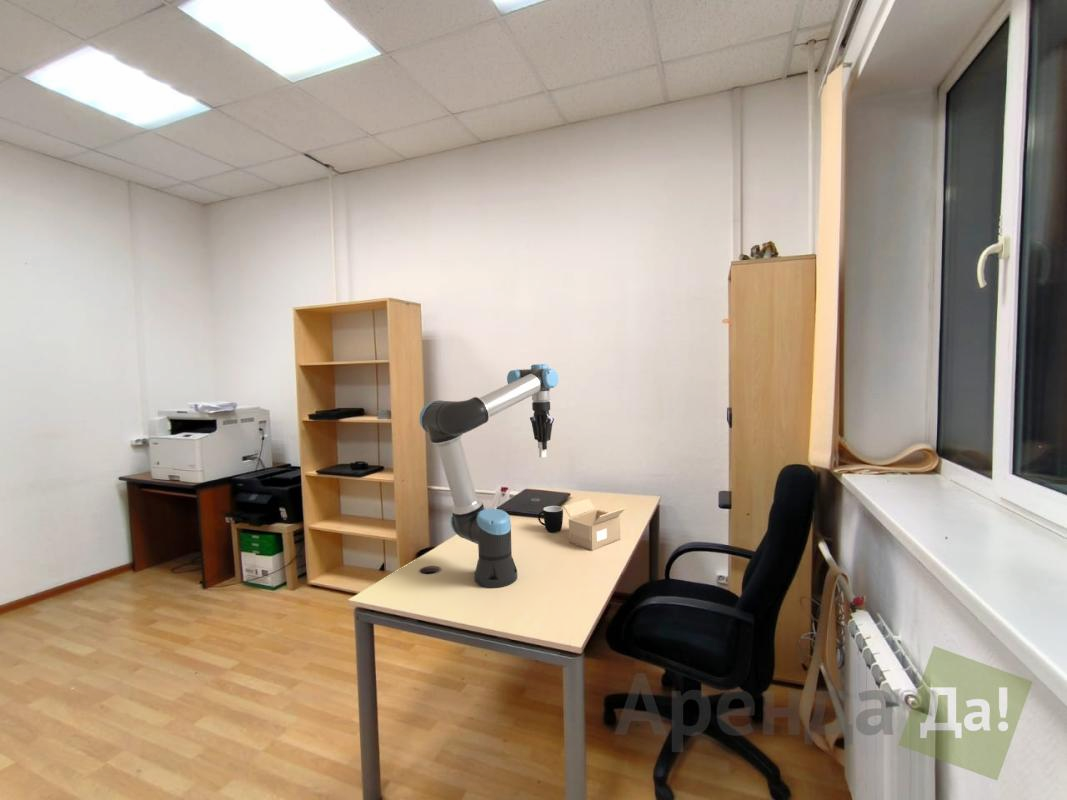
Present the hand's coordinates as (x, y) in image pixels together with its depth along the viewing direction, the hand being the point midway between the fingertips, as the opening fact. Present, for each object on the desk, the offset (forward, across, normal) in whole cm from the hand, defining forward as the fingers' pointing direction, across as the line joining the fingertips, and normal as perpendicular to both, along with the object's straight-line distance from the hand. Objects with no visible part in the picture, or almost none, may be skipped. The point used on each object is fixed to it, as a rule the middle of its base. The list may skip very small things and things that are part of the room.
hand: (542, 456), depth 196 cm
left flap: (+24, -6, -15) cm, 29 cm away
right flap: (+24, -23, -15) cm, 36 cm away
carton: (+36, -14, -15) cm, 42 cm away
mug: (+37, +9, -11) cm, 39 cm away
